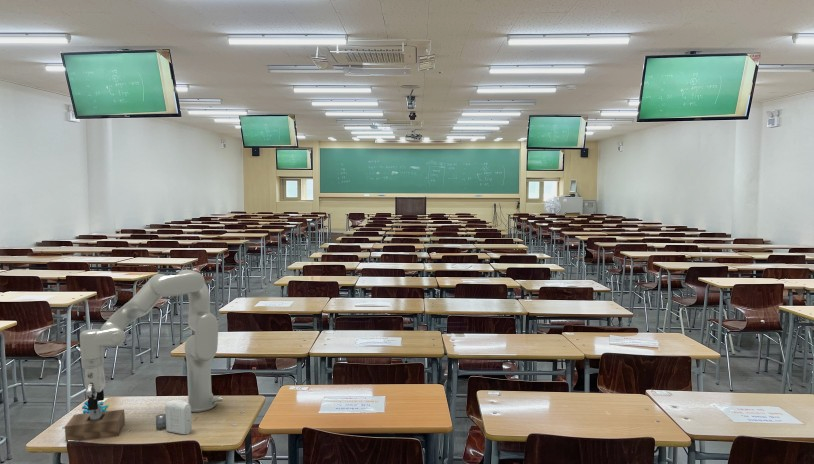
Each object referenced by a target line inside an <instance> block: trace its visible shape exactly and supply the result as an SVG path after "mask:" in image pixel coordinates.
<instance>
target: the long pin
mask: <svg viewBox="0 0 814 464" xmlns="http://www.w3.org/2000/svg"><path fill="white" fill-rule="evenodd" d="M101 406H102V405H100V406H98V409H96V410H90V421H92V420H101V419H102V414H101Z"/></svg>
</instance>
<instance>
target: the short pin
mask: <svg viewBox="0 0 814 464" xmlns="http://www.w3.org/2000/svg"><path fill="white" fill-rule="evenodd" d="M155 426H156V427H155V429H156V430H157V431H162V430H163V431H164V430H166V413H160V414H157V415H155Z"/></svg>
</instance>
